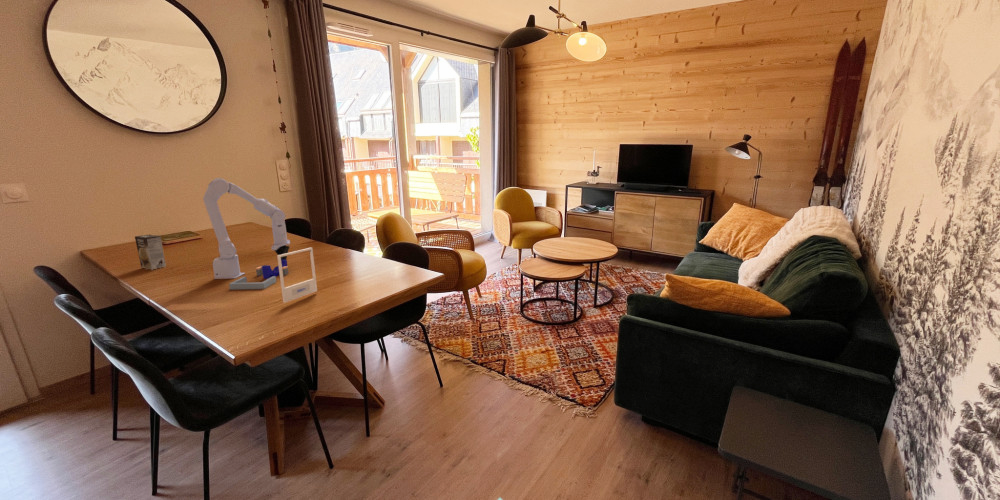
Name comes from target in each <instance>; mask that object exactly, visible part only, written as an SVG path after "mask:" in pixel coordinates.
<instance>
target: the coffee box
mask: <svg viewBox="0 0 1000 500" xmlns="http://www.w3.org/2000/svg"><path fill="white" fill-rule="evenodd" d="M134 239H135V244H136V245H135V246H136V248H137V253H138V258H139V263H140V269H142V268H146V269H145V270H148V269H151V270H150V271H154V270H153V269H156V270H158V269H157V268H160V269H162V268H161V267H164V268H166V267H167V264H166V260H165V259H166V258H165V254H164V247H163V242H162V237H161V235H156V234H145V235H144V234H143V235H135V236H134ZM165 266H166V267H165Z"/></svg>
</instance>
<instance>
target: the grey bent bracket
mask: <svg viewBox="0 0 1000 500" xmlns="http://www.w3.org/2000/svg"><path fill="white" fill-rule="evenodd" d="M275 283H277V276H272V277H271V278H269V279H265V280H264V281H262V282H259V281H258V282H257V281H255V282H248V279H247V276H242V277H240V278H238V279H235V280H234V281H232V282H230V283H229V284H228V285H229V290H233V291H234V290H265V289H267V288H268V287H270V286H272V285H273V284H275Z"/></svg>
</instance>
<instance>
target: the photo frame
mask: <svg viewBox="0 0 1000 500" xmlns="http://www.w3.org/2000/svg"><path fill="white" fill-rule="evenodd" d="M308 251H309V255H310V256H309V257H310V264H311V274H312V278H310V279H307V280H304V281H301V282H297V283H295V284H291V285H289V286H285V282H284V281H285V279H284V275H283V271H282V263H281V257H283V256H287V257H288V256H290V255H291V256H292V255H295V254H299V253H303V252H308ZM276 257H277V264H278V265H277V266H279V274H280V275H279V280H280V288H281V295H282V302H283V303H284V304H285V303H288V302H291V301H293V300H294V301H295V300H298V299H300V298H302V297H304V296H308V295H311V294H313V293H316V292H318V286H317V278H316V268H315V267H316V266H315V259H314V249H313V247H307V248H303V249H299V250H294V251H291V252H289V251H288V253H285V254H281V255H277V254H276Z"/></svg>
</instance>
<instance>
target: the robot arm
mask: <svg viewBox="0 0 1000 500" xmlns="http://www.w3.org/2000/svg"><path fill="white" fill-rule="evenodd" d="M226 193H228V194H230V195H237V196H239V197H241V198H242V199H244V200H246V201H247V202H249V203H251V204H252V205H253V208H254V209H255V210H256V211H258V212H260V213H262V214H263V215H265V216H266V217H269V218H270V219H271V228H272V229H271V230H272V236H273V244H272V245H271V251H274V252H275V253H276V256H277V255H281V254H285V253H289V250H290V244H291V240H290V239H288V235H287V233H288V232H287V227H286V226H287V225H286V221H285V219H286V214H285V212H284V211H283V210H282V209H280V208H278V206H277V205H274V204H272V203H270V202H269V200H268V199H267V198H257V197H255V196H254V195H252V194H251V193H250V192H248V191H247V190H245V189H243V188H242V187H240V186H239V185H237V184H235V183H232V182H230V181H228V180H226V179H224V178H221V177H218V178H214V179H213V180H212V181H211V182H209V183H208V186H207V188H206V191H205V193H204V195H203V198H202V199H203V200H202V201H203V203H204V206H205V208H206V212H207V215H208V216H209V220H210V222H211V225H212V228H213V232H214V233H215V237H216V239H217V242H218V249H217V250H218V253H219V256H218V257H216V258H214V260H213V262H212V268H213V269H212V270H213V274H214V277H213V279H215V280H218V279H219V280H222V279H225V280H226V279H237V278H239V277H241V276H244V275H245V274H246V272H241V268H240V263H239V255H238V254H237V249H236V247H235V244H234V243H233V242H232V241H231V239H230V236H229V233H228V231H227V227H226V225H225V222H224V219H223V216H222V212H221V209H220V207H219V204H218V201H219V199H220V198H221V197H222V196H223V195H224V194H226ZM287 258H288V255H287V256H283V257H281V260H287Z"/></svg>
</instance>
